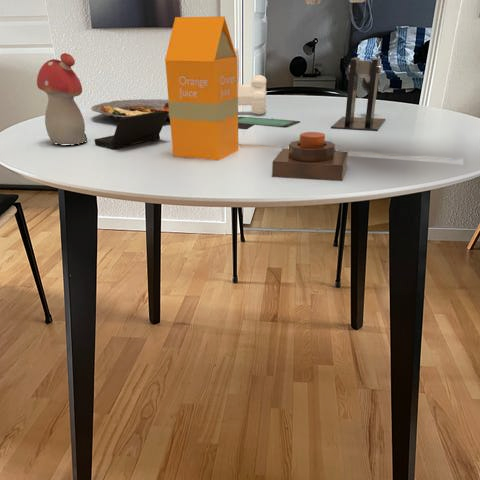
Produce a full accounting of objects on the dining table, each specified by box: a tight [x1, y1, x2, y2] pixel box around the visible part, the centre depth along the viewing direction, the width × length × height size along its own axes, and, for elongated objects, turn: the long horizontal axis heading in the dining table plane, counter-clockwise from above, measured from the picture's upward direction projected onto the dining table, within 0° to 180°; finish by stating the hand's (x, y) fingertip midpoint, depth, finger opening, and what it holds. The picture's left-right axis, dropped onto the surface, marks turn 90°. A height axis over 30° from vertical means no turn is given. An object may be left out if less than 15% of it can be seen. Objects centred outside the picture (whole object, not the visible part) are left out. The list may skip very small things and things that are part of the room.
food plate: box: [90, 98, 170, 120], centre depth 116 cm, size 25×23×4 cm
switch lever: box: [357, 59, 380, 93], centre depth 101 cm, size 14×4×4 cm, turn 159°
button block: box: [271, 139, 349, 182], centre depth 73 cm, size 10×8×4 cm
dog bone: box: [238, 74, 268, 115], centre depth 117 cm, size 15×9×8 cm, turn 85°
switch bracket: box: [330, 57, 386, 132], centre depth 98 cm, size 12×9×13 cm
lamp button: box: [299, 131, 326, 148], centre depth 72 cm, size 4×4×2 cm
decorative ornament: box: [36, 52, 88, 145], centre depth 90 cm, size 9×7×15 cm
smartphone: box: [238, 116, 301, 130], centre depth 105 cm, size 7×1×15 cm
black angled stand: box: [94, 110, 168, 149], centre depth 91 cm, size 12×7×10 cm
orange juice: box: [164, 16, 239, 161], centre depth 80 cm, size 8×9×20 cm
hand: (334, 3), depth 71 cm, fingers open, 8 cm apart
